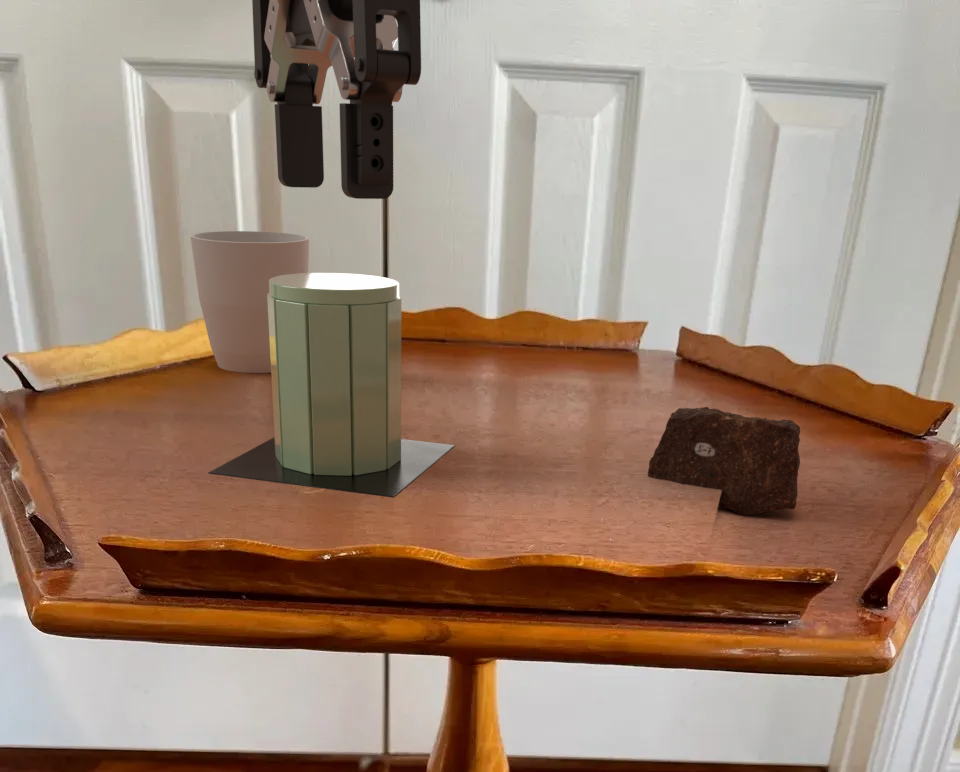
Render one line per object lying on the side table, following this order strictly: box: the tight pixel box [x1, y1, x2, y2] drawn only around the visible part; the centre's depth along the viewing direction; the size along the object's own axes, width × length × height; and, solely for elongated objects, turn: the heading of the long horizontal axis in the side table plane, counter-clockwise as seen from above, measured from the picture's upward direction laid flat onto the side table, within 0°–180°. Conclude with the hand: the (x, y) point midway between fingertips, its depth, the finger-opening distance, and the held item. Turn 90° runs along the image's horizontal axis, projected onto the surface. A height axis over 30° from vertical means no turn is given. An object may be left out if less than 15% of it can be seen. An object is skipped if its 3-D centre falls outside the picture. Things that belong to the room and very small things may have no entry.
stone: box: [647, 406, 801, 516], centre depth 53 cm, size 8×3×5 cm, turn 65°
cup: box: [189, 230, 310, 374], centre depth 74 cm, size 8×8×10 cm
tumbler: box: [267, 272, 403, 476], centre depth 53 cm, size 6×7×9 cm
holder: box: [207, 436, 456, 498], centre depth 53 cm, size 10×10×8 cm
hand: (332, 192), depth 49 cm, fingers open, 8 cm apart
